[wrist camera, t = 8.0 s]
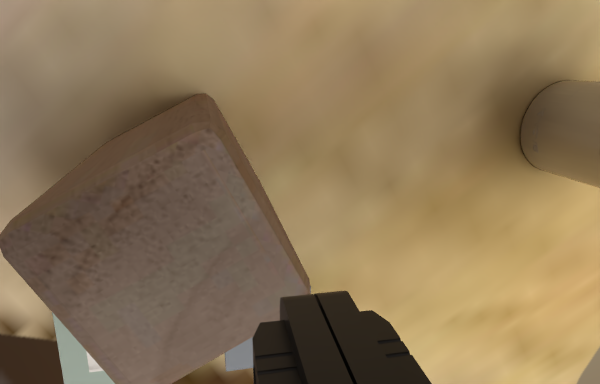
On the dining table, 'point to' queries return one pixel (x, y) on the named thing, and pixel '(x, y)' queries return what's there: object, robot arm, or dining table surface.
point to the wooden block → (158, 248)
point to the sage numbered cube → (77, 359)
